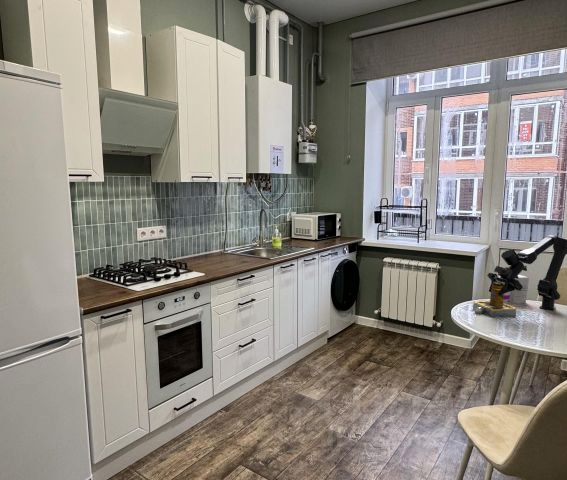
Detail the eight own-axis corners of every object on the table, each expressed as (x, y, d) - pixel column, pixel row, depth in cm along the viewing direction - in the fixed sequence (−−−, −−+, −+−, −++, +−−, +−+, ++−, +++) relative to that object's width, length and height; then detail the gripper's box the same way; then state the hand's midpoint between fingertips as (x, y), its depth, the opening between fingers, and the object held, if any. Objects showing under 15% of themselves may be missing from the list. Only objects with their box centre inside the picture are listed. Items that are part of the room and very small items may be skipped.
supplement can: (508, 302, 227) (510, 276, 225) (509, 305, 219) (512, 279, 217) (492, 299, 230) (494, 274, 228) (492, 303, 223) (495, 277, 221)
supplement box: (501, 299, 232) (503, 274, 230) (513, 298, 235) (516, 273, 232) (513, 303, 224) (516, 277, 222) (526, 303, 226) (529, 277, 224)
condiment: (506, 307, 204) (508, 284, 202) (490, 307, 203) (492, 284, 201) (498, 303, 211) (500, 281, 209) (482, 303, 210) (484, 281, 209)
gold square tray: (494, 307, 216) (495, 300, 215) (515, 315, 202) (516, 308, 202) (466, 309, 211) (467, 301, 210) (486, 317, 198) (486, 310, 197)
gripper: (491, 257, 213) (472, 278, 212) (520, 264, 195) (499, 287, 194) (502, 271, 216) (483, 292, 215) (531, 279, 198) (511, 302, 197)
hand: (493, 293), depth 205 cm, fingers closed on condiment, 6 cm apart
